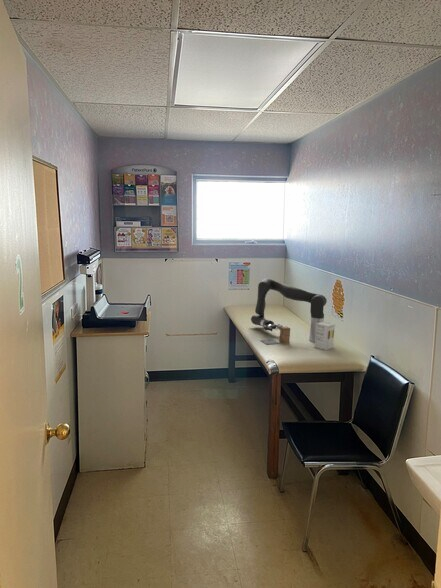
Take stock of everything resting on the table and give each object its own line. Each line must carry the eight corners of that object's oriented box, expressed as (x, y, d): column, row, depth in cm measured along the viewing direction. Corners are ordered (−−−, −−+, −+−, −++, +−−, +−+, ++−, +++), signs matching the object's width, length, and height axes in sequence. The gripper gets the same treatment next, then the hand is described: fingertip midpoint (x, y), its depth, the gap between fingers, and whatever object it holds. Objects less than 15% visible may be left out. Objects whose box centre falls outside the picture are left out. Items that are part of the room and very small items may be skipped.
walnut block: (279, 342, 308) (280, 326, 306) (285, 341, 310) (286, 326, 308) (282, 343, 303) (283, 328, 301) (289, 343, 305) (290, 328, 303)
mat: (260, 340, 309) (260, 339, 309) (272, 339, 312) (272, 339, 312) (266, 344, 300) (266, 343, 300) (279, 343, 303) (279, 342, 303)
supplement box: (326, 350, 292) (328, 325, 289) (314, 347, 299) (316, 323, 296) (333, 347, 299) (335, 323, 296) (321, 344, 305) (323, 321, 303)
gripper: (259, 319, 327) (268, 325, 312) (275, 319, 332) (286, 324, 317) (258, 329, 329) (268, 335, 314) (275, 328, 334) (285, 334, 319)
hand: (277, 329), depth 316 cm, fingers open, 8 cm apart
